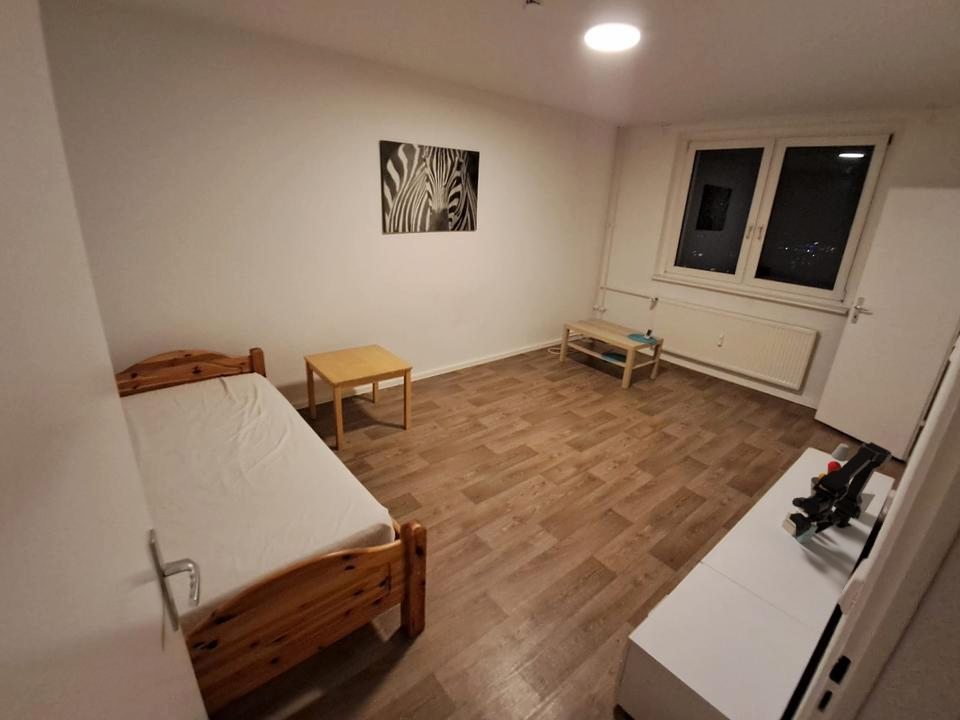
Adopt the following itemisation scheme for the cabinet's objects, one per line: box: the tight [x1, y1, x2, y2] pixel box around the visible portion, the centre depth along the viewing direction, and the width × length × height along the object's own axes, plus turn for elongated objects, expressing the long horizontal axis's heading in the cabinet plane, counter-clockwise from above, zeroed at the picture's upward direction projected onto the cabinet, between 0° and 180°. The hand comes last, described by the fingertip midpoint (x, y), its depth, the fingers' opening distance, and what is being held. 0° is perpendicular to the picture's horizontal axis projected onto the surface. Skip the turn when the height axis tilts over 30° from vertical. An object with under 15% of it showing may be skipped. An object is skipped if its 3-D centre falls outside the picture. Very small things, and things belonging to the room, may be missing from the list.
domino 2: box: [795, 524, 817, 544], centre depth 172 cm, size 2×5×8 cm, turn 104°
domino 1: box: [781, 510, 796, 536], centre depth 176 cm, size 2×5×8 cm, turn 14°
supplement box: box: [849, 481, 876, 518], centre depth 190 cm, size 7×7×13 cm
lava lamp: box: [797, 443, 850, 512], centre depth 182 cm, size 9×9×35 cm
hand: (806, 534), depth 172 cm, fingers open, 9 cm apart
